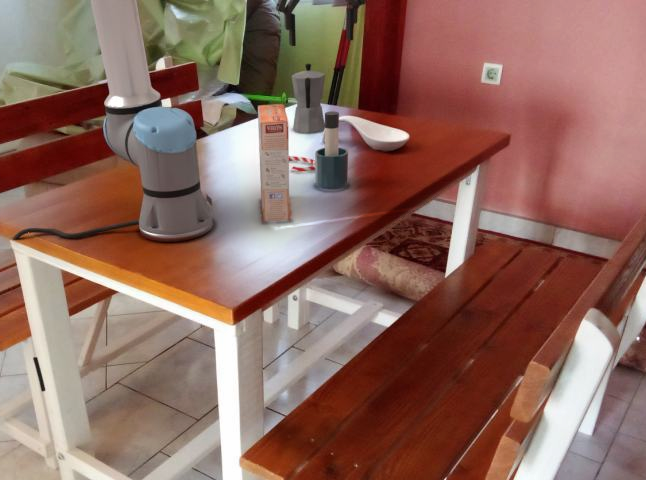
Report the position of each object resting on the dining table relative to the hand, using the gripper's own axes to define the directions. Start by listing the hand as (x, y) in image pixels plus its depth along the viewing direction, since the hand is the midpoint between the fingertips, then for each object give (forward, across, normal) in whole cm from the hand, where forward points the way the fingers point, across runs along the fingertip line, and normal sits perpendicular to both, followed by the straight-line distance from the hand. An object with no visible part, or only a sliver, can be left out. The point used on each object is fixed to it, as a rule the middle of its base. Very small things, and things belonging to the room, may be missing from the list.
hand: (321, 42), depth 163 cm
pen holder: (+29, -2, -15) cm, 33 cm away
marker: (+28, -2, -15) cm, 32 cm away
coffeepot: (+29, +6, +32) cm, 43 cm away
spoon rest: (+29, +15, +11) cm, 35 cm away
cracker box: (+29, -18, -25) cm, 43 cm away
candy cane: (+29, -7, +3) cm, 30 cm away
